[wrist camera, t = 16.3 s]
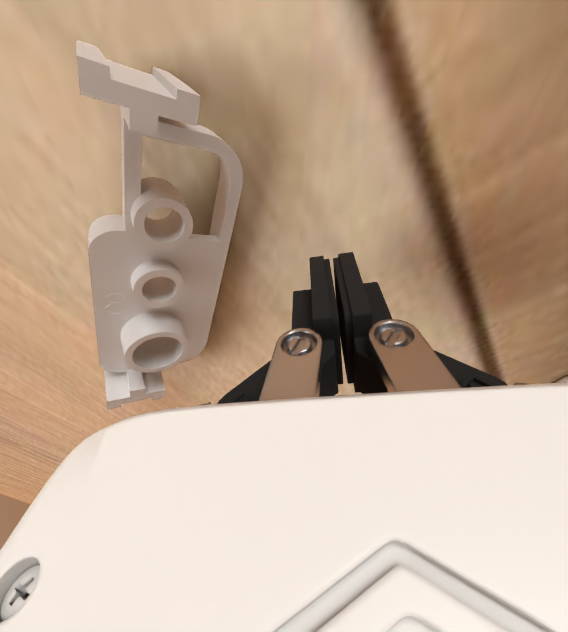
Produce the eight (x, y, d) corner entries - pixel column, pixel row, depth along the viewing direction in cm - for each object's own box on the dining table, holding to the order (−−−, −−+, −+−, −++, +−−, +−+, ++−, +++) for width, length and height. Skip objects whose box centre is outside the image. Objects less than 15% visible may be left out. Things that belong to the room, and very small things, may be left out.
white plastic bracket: (113, 336, 20) (61, 404, 15) (120, 49, 11) (8, 15, 7) (202, 359, 21) (179, 429, 16) (272, 117, 12) (262, 126, 8)
